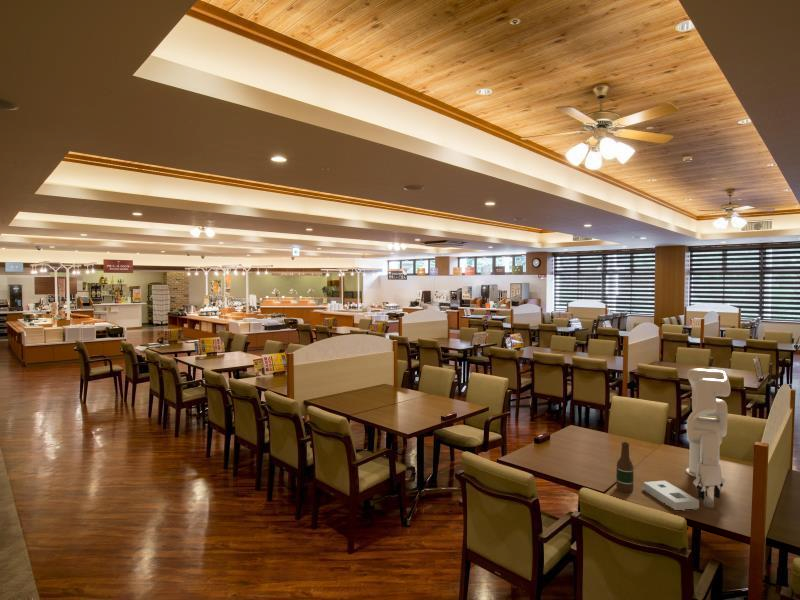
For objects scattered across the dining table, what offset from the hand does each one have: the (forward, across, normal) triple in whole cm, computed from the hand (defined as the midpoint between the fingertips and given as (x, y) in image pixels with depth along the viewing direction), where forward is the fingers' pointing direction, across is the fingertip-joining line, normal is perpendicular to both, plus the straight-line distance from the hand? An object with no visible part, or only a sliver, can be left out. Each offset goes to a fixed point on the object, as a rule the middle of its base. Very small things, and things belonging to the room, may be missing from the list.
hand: (708, 497), depth 218 cm
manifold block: (+4, +13, -9) cm, 16 cm away
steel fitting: (+4, 0, 0) cm, 4 cm away
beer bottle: (+4, +28, -22) cm, 36 cm away
